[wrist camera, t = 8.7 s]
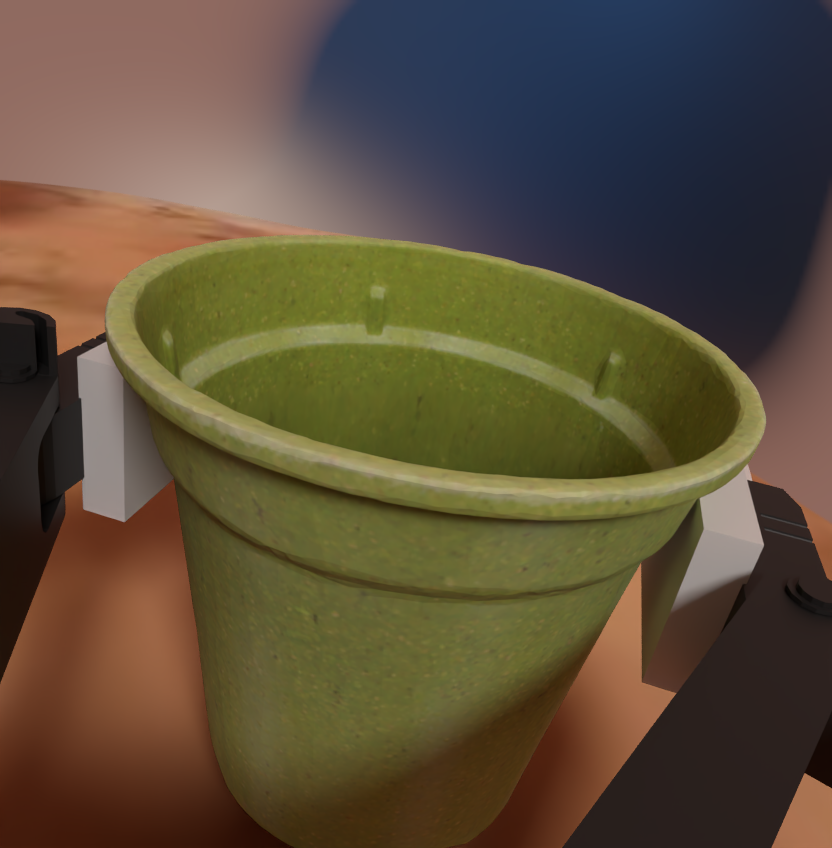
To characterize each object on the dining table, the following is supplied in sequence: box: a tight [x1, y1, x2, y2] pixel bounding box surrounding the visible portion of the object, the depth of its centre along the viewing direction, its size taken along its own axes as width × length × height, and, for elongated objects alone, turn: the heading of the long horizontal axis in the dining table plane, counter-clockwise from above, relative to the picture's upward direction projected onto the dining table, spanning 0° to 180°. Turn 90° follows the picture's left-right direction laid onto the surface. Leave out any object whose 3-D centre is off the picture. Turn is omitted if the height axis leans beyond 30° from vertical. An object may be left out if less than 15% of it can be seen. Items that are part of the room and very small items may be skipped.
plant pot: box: [105, 235, 766, 848], centre depth 13 cm, size 9×9×9 cm
